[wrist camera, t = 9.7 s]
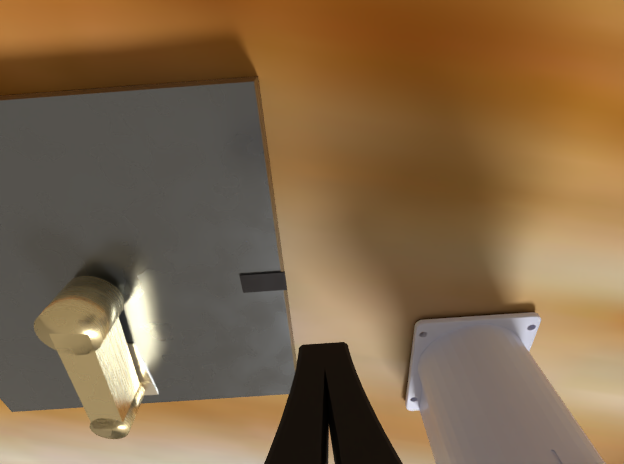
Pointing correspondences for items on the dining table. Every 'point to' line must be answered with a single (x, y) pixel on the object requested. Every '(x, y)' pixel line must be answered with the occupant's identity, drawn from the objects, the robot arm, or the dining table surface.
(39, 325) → the lever
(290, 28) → the dining table surface
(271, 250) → the lock plate
